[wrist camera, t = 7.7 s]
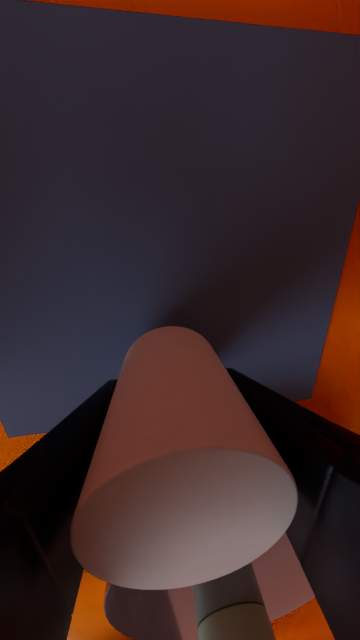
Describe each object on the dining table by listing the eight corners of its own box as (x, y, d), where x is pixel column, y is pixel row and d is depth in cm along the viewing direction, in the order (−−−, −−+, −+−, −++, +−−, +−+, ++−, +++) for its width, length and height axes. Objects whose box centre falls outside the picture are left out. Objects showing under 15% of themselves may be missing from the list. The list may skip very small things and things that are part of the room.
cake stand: (310, 405, 14) (390, 480, 9) (282, 522, 19) (324, 611, 14) (106, 432, 12) (75, 539, 8) (132, 552, 17) (123, 664, 12)
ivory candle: (217, 322, 9) (320, 429, 3) (214, 400, 10) (282, 566, 5) (116, 329, 8) (36, 471, 3) (129, 411, 10) (93, 609, 4)
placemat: (386, 49, 8) (398, 38, 7) (307, 395, 13) (311, 399, 13) (-179, -6, 6) (-203, -25, 5) (12, 432, 11) (7, 437, 11)
